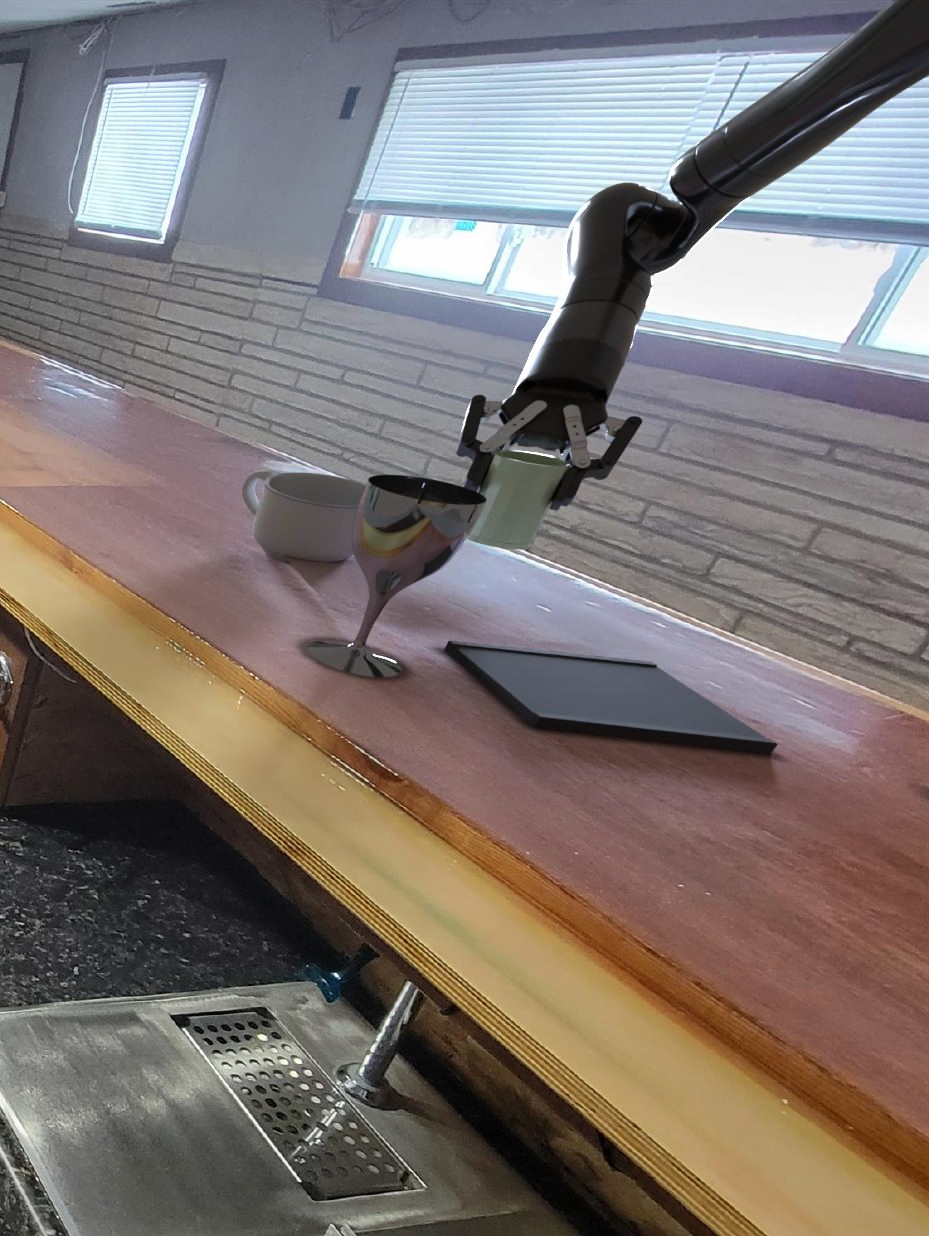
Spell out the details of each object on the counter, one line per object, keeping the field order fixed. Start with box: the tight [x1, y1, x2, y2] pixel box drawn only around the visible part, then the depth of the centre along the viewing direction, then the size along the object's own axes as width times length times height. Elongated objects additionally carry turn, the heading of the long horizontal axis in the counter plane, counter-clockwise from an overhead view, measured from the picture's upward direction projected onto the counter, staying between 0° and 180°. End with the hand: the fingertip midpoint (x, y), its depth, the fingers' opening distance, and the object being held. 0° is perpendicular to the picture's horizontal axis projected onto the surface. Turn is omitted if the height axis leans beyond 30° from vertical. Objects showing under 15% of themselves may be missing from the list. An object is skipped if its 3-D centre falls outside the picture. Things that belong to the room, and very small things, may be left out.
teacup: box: [241, 469, 366, 565], centre depth 108 cm, size 14×11×8 cm
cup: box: [467, 449, 570, 550], centre depth 102 cm, size 6×6×8 cm
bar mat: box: [443, 640, 778, 756], centre depth 82 cm, size 16×14×1 cm
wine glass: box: [306, 474, 487, 678], centre depth 83 cm, size 8×8×15 cm
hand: (514, 497), depth 100 cm, fingers closed on cup, 6 cm apart
